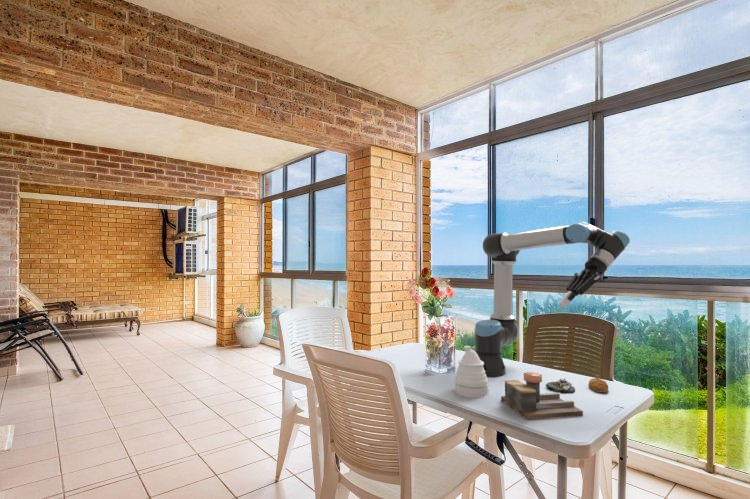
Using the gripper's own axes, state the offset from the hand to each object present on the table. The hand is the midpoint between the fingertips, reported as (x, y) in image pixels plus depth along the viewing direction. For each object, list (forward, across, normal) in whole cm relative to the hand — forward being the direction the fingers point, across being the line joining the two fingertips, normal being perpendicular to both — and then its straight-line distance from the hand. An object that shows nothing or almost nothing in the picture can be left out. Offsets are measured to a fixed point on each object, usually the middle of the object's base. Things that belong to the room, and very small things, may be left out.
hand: (561, 305), depth 156 cm
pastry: (+13, +1, -36) cm, 38 cm away
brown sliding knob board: (+37, -13, -11) cm, 41 cm away
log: (+23, +4, -26) cm, 35 cm away
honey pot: (+49, +7, 0) cm, 50 cm away
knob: (+38, -13, -8) cm, 41 cm away
